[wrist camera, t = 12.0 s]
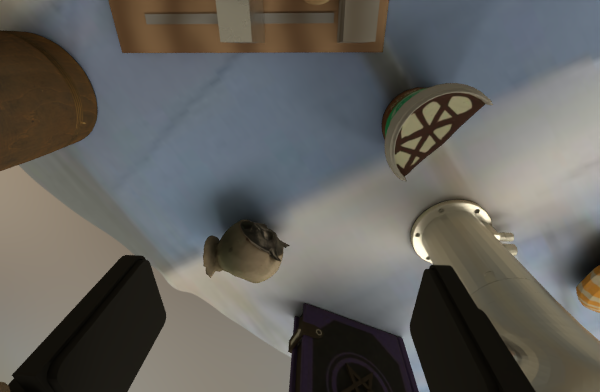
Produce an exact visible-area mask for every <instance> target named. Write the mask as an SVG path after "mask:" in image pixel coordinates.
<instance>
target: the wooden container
mask: <svg viewBox="0 0 600 392" xmlns="http://www.w3.org/2000/svg"><path fill="white" fill-rule="evenodd" d="M96 119H97V102H96V97H95V93H94V91H93V88H92V86H91V83H90V81H89V79H88V78H87V76H86V74H85V72H84V71H83V69H82V68H81V67H80V66H79V64H78V63H77V62H76V61H75V60H74V59H73V58H72V57H71V56H70V55H69V54H68V53H67V52H66V51H65V50H64V49H62V48H61V47H60V46H58V45H57V44H55V43H54V42H52V41H50V40H48V39H47V38H44V37H42V36H39V35H36V34H33V33H28V32H18V31H0V171H2V170H5V169H8V168H10V167H13V166H16V165H19V164H22V163H25V162H28V161H30V160H33V159H36V158H38V157H41V156H44V155H46V154H49V153H51V152H54V151H56V150H59V149H61V148H63V147H66V146H68V145H71V144H73V143H76V142H78V141H80V140H82V139H84V138H85V137H86V136H88V135H89V134H90V132H91V131H92V129H93V127H94V125H95V123H96Z"/></svg>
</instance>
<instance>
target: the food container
mask: <svg viewBox="0 0 600 392" xmlns="http://www.w3.org/2000/svg"><path fill="white" fill-rule="evenodd" d="M491 102H492V101H491V100H490V99H488V98H487V97H486V96H485V95H484V94H483V93H482V92H480V91H479V90H477V89H475V88H473V87H471V86H468V85H464V84H458V83H446V84H440V85H436V86H433V87H430V88H421V87H416V88H413V89H410V90H406V91H404V92H403V93H401V94H399V95H398V96H396V97H395V98H394V99H393V100H392V101H391V103H390V104H389V105H388V107H387V108H386V110H385V113H384V115H383V119H382V132H383V136H384V139H385V155H386V159H387V162H388V165H389V167H390V168H391V170H392V171H393V173H394V174H395V175H396V176H397V177H398V178H399V179H401V180H402V181H403V180H405V181H406V178H405V176H406V175H407V174H408V173H409V172H410V171H411V170H412V169H413V168H414V167H415V166H416V165H418V164H419V163H420V162H421V161H422V160H423V159H425V158H426V157H427V156H428V155H430V154H431V153H432V152H433V151H435V150H436V149H437V148H439V147H440V146H441V145H442V144H443V143H445V142H446V141H447V140H448V139H449V138H450V137H451V136H452V134H453V133H454V132H455V131H456V130H457V129H458V128H459V127H460V126H461V125H462V124H464V123H465V122H466V121H467V120H468V119H469V118H470V117H471V116H472V115H474V114H475V113H476V112H477V111H478V110H479V109H480V108H481V107H483V106H484V105H485V104H487V105H493V104H492V103H491Z"/></svg>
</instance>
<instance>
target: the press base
mask: <svg viewBox="0 0 600 392" xmlns="http://www.w3.org/2000/svg"><path fill="white" fill-rule="evenodd" d="M388 3H389V0H329V1H328V2H326V3H324V4H321V5H312V4H309V3H307V2H305V1H304V0H263V14H264V33H265V43H227V42H220V34H219V26H218V18H217V9H216V1H215V0H109V4H110V8H111V12H112V15H113V19H114V23H115V27H116V31H117V34H118V38H119V42H120V46H121V49H122V53H250V52H383V45H384V37H385V28H386V20H387V11H388Z"/></svg>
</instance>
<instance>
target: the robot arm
mask: <svg viewBox="0 0 600 392" xmlns="http://www.w3.org/2000/svg"><path fill="white" fill-rule="evenodd" d="M513 240H514V235H513V234H512V233H505V232H503V233H498V232H497V231H495V230H494V229H493V228H492V221H491V218H490V216H489V215H488V213H487V212H486V211H485V210H484V209H483V208H482V207H480V206H479V205H477V204H476V203H473V202H471V201H466V200H450V201H445V202H442V203H439V204H437V205H434V206H432V207H431V208H429V209H428V210H426V211H425V212H424V213H423V214H422V215H420V216H419V218H418V219H417V220H416V222H415V224H414V225H413V227H412V231H411V243H412V246H413V248H414V250H415V252H416V253H417V255H418V256H419V257H421V258H422V259H423V260H425V261H427V262H430V263H432V264H433V265H431V266H430V268H429V269H425V270H424V273H423V277H422V281H421V285H420V288H419V292H418V296H417V299H416V303H415V307H414V311H413V314H412V318H411V322H410V332H411V336H412V339H413V342H414V345H415V348H416V351H417V354H418V357H419V360H420V363H421V366H422V369H423V372H424V375H425V378H426V381H427V384H428V387H429V390H430V392H600V341H599V340H598V339H597V338H596V337H594V336H593V335H592V334H591V333H590V332H589V331H588V330H586V329H585V328H584V327H583V326H582V325H581V324H580V323H579V322H578V321H577V320H576V319H575V318H574V317H573V316H572V315H570V314H569V313H568V312H567V311H566V310H565V309H564V308H563V307H562V306H561V305H560V304H559V303H558V302H557V301H556V300H555V299H554V298H553V297H552V296H551V295H550V293H549V292H548V291H547V290H546V289H545V288H544V287H543V286H542V285H541V284H540V283H539V282H538V281H537V280H536V279H535V278H534V277H533V276H532V275H531V274H530V273H529V272H528V271H527V270H526V268H525V267H524V266H523V265H522V264H521V263H520V262H519V261H518V260H517V259H516V258H515V257H514V256H515V255H516V254H517V247H516V246H515V245H514V244H502V243H501V242H500V241H513ZM165 320H166V312H165V309H164V306H163V303H162V300H161V297H160V294H159V290H158V287H157V284H156V281H155V278H154V275H153V272H152V268H151V265H150V263H149V261H148V260H146V259H145V257H143V256H135V255H125V256H122V257H121V258H120V259H119V260H118V261H117V262H116V263H115V265H114V266H113V267H112V268H111V269H110V270H109V271H108V272H107V273H106V274H105V275H104V277H102V279H101V280H100V281H99V282H98V283H97V284H96V285H95V286H94V287H93V288H92V289H91V290H90V291H89V293H88V294H87V295H86V296H85V297H84V298H83V299H82V300H81V301H80V302H79V304H77V306H76V307H75V308H74V309H73V310H72V311H71V312H70V313H69V314H68V315H67V316H66V317H65V318H64V320H63V321H62V322H61V323H60V324H59V325H58V326H57V327H56V328H55V329H54V330H53V331H52V332H51V334H50V335H49V336H48V337H47V338H46V339H45V340H44V341H43V342H42V343H41V344H40V345H39V346H38V348H37V349H36V350H35V351H34V352H33V353H32V354H31V355H30V356H29V357H28V358H27V360H26V361H25V362H24V363H23V364H22V365H21V366H20V367H19V368H18V369H17V370H16V371H15V372H14V373H13V375H12V376H13V377H14V379H13V380H12V381H11V382H10V383H9V385H7V384H6V383H4V382H0V392H127V391H128V390H129V388H130V386H131V384H132V382H133V380H134V378H135V377H136V375H137V373H138V371H139V369H140V368H141V366H142V364H143V362H144V360H145V358H146V357H147V355H148V353H149V351H150V349H151V348H152V346H153V344H154V342H155V340H156V338H157V337H158V335H159V333H160V331H161V329H162V327H163V326H164V323H165Z"/></svg>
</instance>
